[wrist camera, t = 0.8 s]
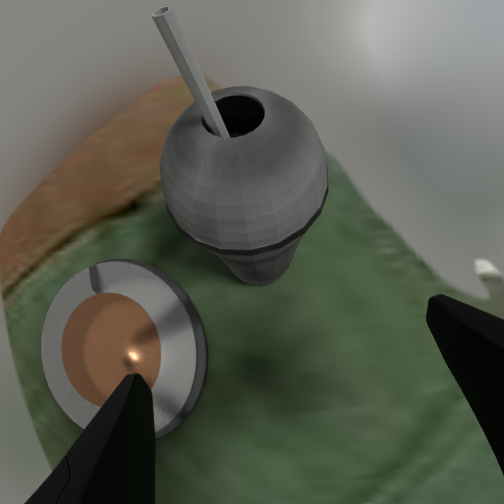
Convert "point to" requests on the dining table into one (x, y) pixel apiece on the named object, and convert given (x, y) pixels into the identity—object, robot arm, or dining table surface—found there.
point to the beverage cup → (240, 170)
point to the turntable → (118, 341)
